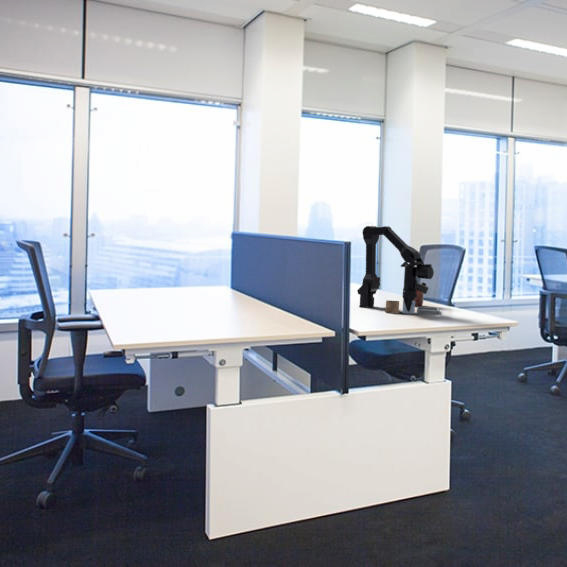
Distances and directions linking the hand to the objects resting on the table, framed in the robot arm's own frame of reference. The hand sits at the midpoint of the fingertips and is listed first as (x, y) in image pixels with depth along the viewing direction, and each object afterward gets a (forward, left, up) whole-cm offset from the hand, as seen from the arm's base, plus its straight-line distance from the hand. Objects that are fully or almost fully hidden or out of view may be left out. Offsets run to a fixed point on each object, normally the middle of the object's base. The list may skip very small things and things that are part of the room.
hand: (408, 310), depth 277 cm
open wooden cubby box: (-7, 0, -1) cm, 8 cm away
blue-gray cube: (0, 0, -1) cm, 1 cm away
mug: (+4, +24, -2) cm, 24 cm away
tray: (+9, +8, -1) cm, 12 cm away
